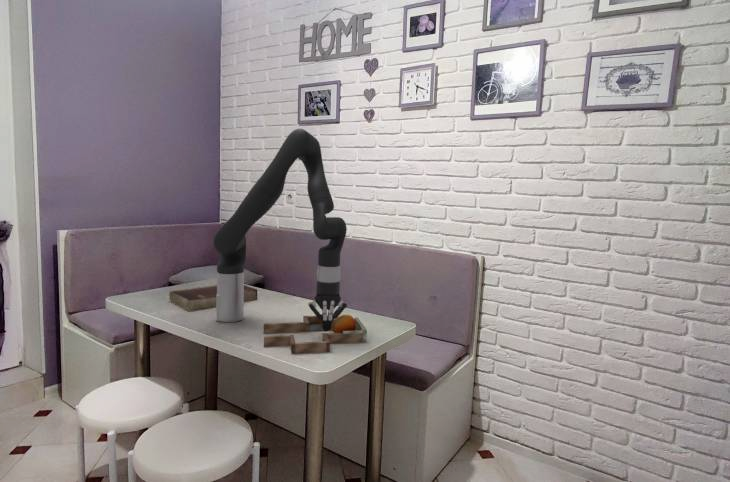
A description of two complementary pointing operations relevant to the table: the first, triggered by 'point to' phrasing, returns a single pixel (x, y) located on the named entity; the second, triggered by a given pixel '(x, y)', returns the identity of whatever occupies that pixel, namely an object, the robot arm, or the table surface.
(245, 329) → the table surface
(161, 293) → the table surface
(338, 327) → the fruit
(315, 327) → the trap box
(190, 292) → the latched wooden chest
